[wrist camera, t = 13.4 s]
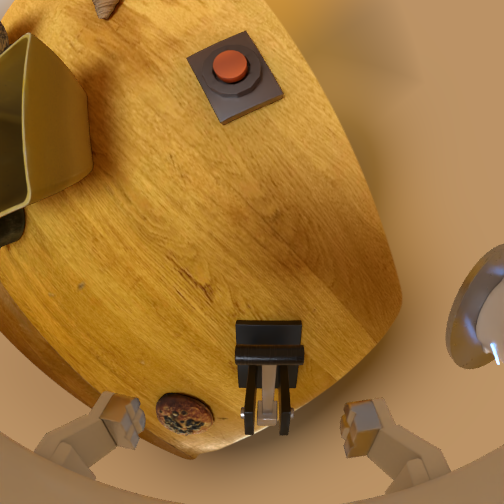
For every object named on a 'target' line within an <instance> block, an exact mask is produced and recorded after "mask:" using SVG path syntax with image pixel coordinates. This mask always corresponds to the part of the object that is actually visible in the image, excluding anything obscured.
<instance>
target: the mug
mask: <svg viewBox="0 0 504 504" xmlns="http://www.w3.org/2000/svg"><path fill="white" fill-rule="evenodd" d="M24 224H25V218H24V211H23V208H21V209H18V210H16V211H14V212H12V213H9V214H7V215H5V216H3V217H1V218H0V248H1V247H2V246H5V245H7V244H10V243H12V242H15V241H17V240H18V239H19V238H20V237H21V235H22V233H23V230H24Z"/></svg>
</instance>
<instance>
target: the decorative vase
mask: <svg viewBox="0 0 504 504" xmlns="http://www.w3.org/2000/svg"><path fill="white" fill-rule="evenodd" d="M11 45H12V44H10V45H9V40H8V36H7V33H6V30H5V28H4V26H3V25H2V23H1V22H0V55H1V54H2V53H3V52H4V51H5V50H7V49H8V48H9V47H10V46H11Z"/></svg>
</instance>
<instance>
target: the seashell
mask: <svg viewBox="0 0 504 504" xmlns="http://www.w3.org/2000/svg"><path fill="white" fill-rule="evenodd" d="M92 1H93V4H94V5H95V9H96V12H97V15H98V17H99V19H103V18H105V19H108V18H109V16H110V14H111V13H112V12H113V10H114V7H115V5H116V4H117V3H118V2H119V0H92Z"/></svg>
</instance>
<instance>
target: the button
mask: <svg viewBox="0 0 504 504" xmlns="http://www.w3.org/2000/svg"><path fill="white" fill-rule="evenodd" d="M213 69H214V71H215V73H216V75H217V77H218V78H219V79H220V80H222V81H223V82H226V83H235V82H238V81H240V80H241V79H243V78H244V77H245V75H246V74H247V71H248V66H247V61H246V58H245V57H244V55H243V54H241V53H240V52H238V51H234V50H228V51H224V52H222V53H220V54H219V55H218V56H217V57H216V58H215V60H214V62H213Z"/></svg>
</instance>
